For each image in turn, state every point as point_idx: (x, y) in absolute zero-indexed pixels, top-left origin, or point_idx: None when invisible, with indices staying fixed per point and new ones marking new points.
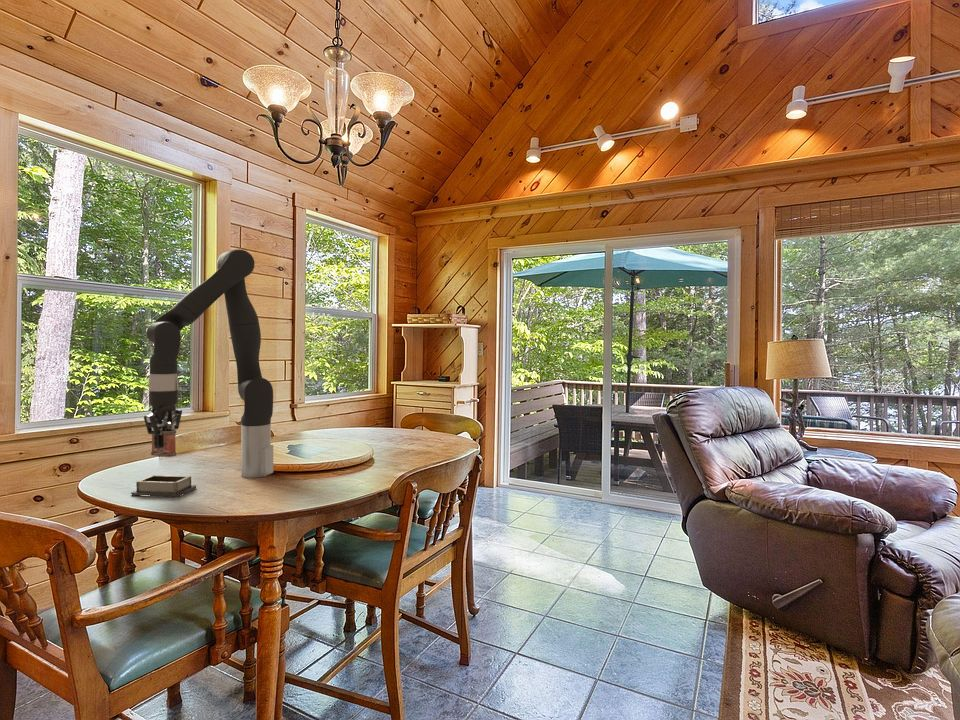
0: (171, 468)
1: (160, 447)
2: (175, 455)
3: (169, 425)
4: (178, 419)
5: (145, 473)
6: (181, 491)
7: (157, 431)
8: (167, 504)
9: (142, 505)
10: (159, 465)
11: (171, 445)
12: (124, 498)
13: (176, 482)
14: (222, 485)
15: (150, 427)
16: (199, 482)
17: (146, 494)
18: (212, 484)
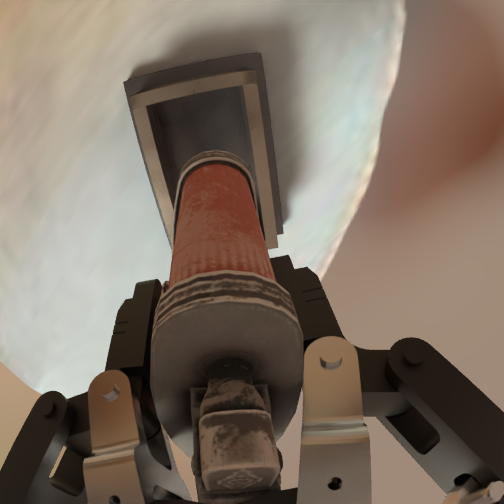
0: (35, 341)
1: (289, 259)
2: (204, 153)
3: (267, 440)
4: (20, 485)
5: (95, 359)
6: (221, 64)
7: (423, 361)
8: (339, 31)
9: (363, 109)
10: (45, 374)
11: (245, 199)
12: (307, 224)
13: (247, 73)
14: (58, 27)
15: (419, 435)
16: (59, 147)
17: (276, 177)
18: (59, 75)
